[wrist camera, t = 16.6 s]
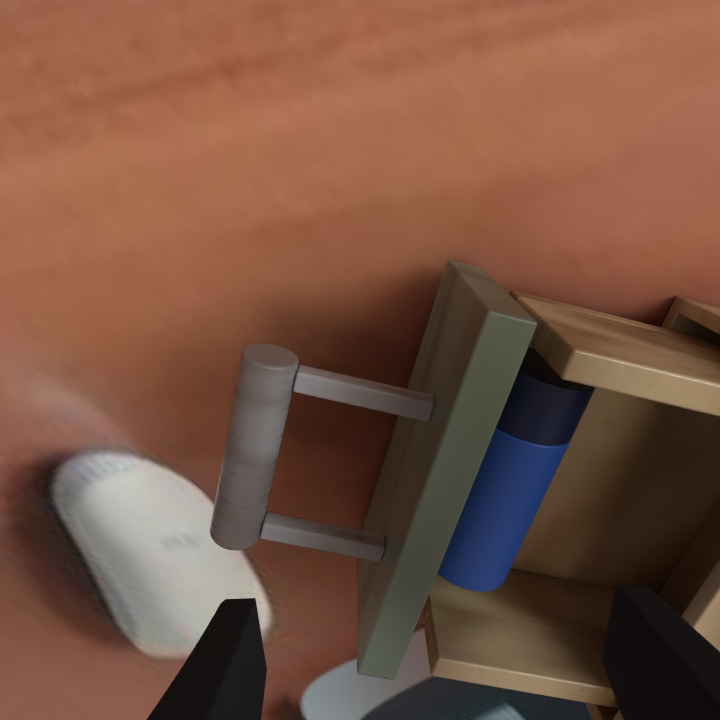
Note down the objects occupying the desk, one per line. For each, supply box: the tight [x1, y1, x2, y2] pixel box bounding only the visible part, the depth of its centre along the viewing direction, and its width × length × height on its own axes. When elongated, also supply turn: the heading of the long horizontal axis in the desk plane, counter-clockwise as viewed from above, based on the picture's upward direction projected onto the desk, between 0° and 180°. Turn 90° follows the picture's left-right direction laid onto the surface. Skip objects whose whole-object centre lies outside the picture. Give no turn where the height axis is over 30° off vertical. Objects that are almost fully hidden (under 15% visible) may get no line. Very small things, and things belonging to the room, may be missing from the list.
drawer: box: [210, 260, 720, 708], centre depth 16 cm, size 18×12×6 cm, turn 76°
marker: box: [437, 347, 596, 592], centre depth 17 cm, size 8×3×3 cm
